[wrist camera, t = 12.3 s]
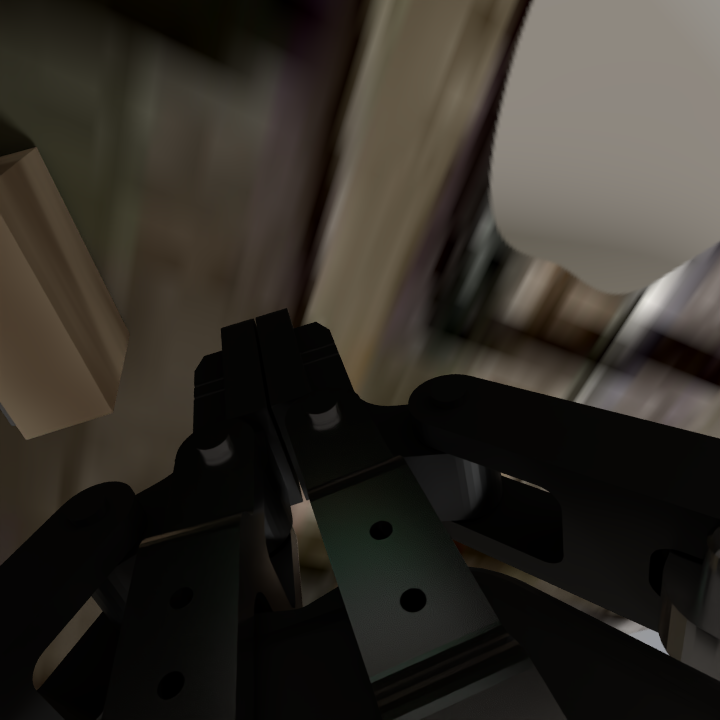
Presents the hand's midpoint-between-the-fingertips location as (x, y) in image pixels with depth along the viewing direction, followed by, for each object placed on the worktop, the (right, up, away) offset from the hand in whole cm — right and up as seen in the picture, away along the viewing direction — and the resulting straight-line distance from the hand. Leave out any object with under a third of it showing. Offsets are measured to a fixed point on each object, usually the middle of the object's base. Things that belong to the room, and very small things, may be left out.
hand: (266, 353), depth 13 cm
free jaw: (-10, +4, +10) cm, 15 cm away
